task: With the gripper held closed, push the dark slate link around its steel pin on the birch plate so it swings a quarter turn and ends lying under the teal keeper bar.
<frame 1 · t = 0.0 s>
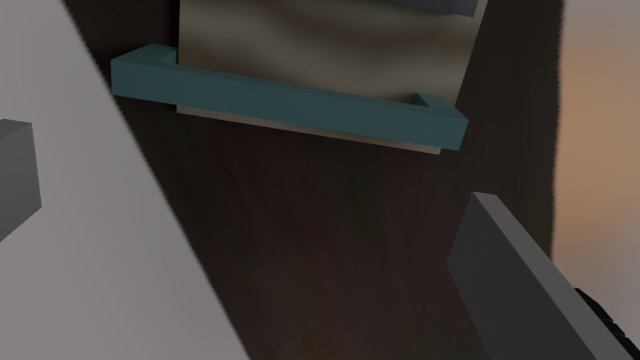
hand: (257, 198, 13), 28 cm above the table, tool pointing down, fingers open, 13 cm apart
pivot plate: (330, 21, 37), on the table
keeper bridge: (297, 82, 39), resting on pivot plate
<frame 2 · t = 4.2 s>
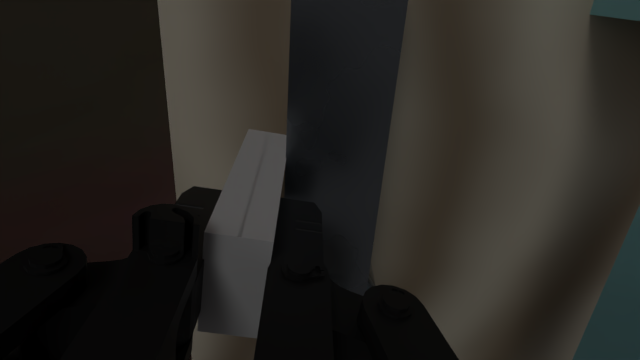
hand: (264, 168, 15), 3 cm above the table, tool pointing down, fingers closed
swing link: (330, 176, 15), point 4 cm above the table, hinge at 89.6°, touching gripper
pivot plate: (410, 211, 19), on the table
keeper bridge: (522, 253, 20), resting on pivot plate
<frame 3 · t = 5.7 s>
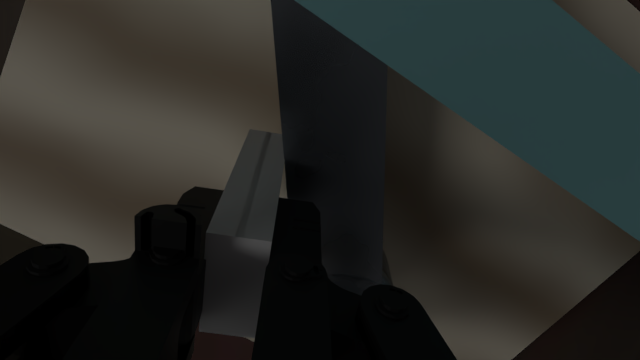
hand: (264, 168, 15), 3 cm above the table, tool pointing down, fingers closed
swing link: (334, 176, 15), point 3 cm above the table, hinge at 35.5°, touching gripper
pivot plate: (348, 156, 18), on the table
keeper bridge: (477, 67, 16), resting on pivot plate
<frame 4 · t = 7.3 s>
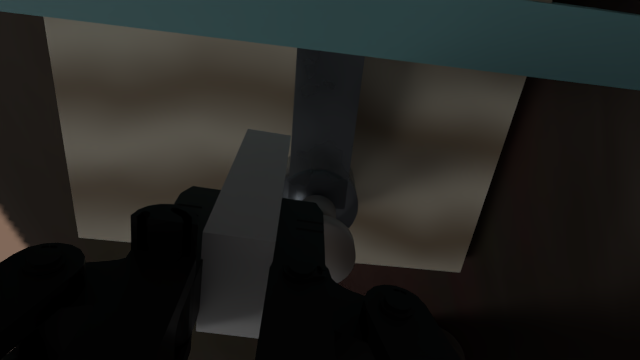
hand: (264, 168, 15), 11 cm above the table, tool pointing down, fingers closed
swing link: (324, 103, 21), point 4 cm above the table, hinge at 1.9°
pivot plate: (289, 101, 25), on the table
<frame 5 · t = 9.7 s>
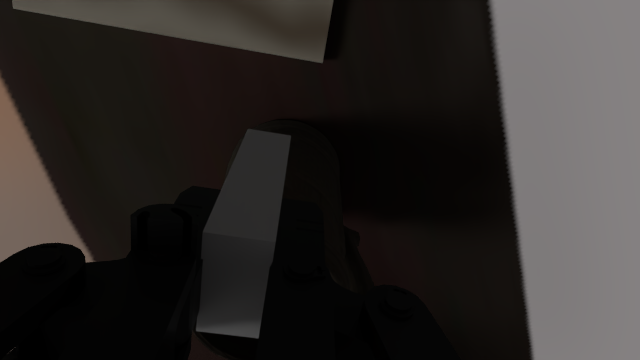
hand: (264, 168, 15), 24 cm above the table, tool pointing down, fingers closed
beer stein: (306, 181, 43), on the table
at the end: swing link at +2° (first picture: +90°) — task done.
